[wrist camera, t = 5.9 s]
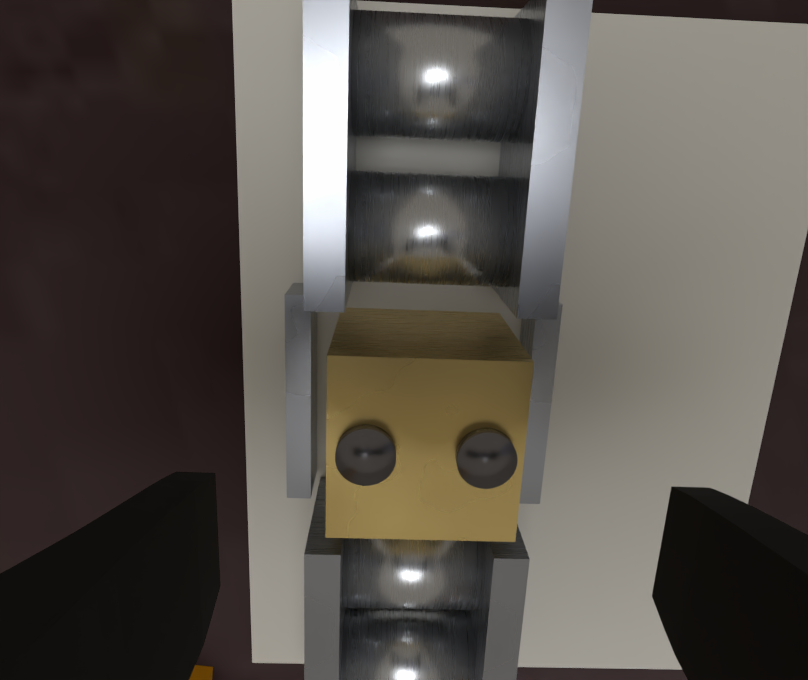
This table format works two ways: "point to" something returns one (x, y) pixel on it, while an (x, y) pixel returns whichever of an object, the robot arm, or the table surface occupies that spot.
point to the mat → (565, 306)
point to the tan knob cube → (425, 425)
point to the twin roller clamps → (429, 264)
